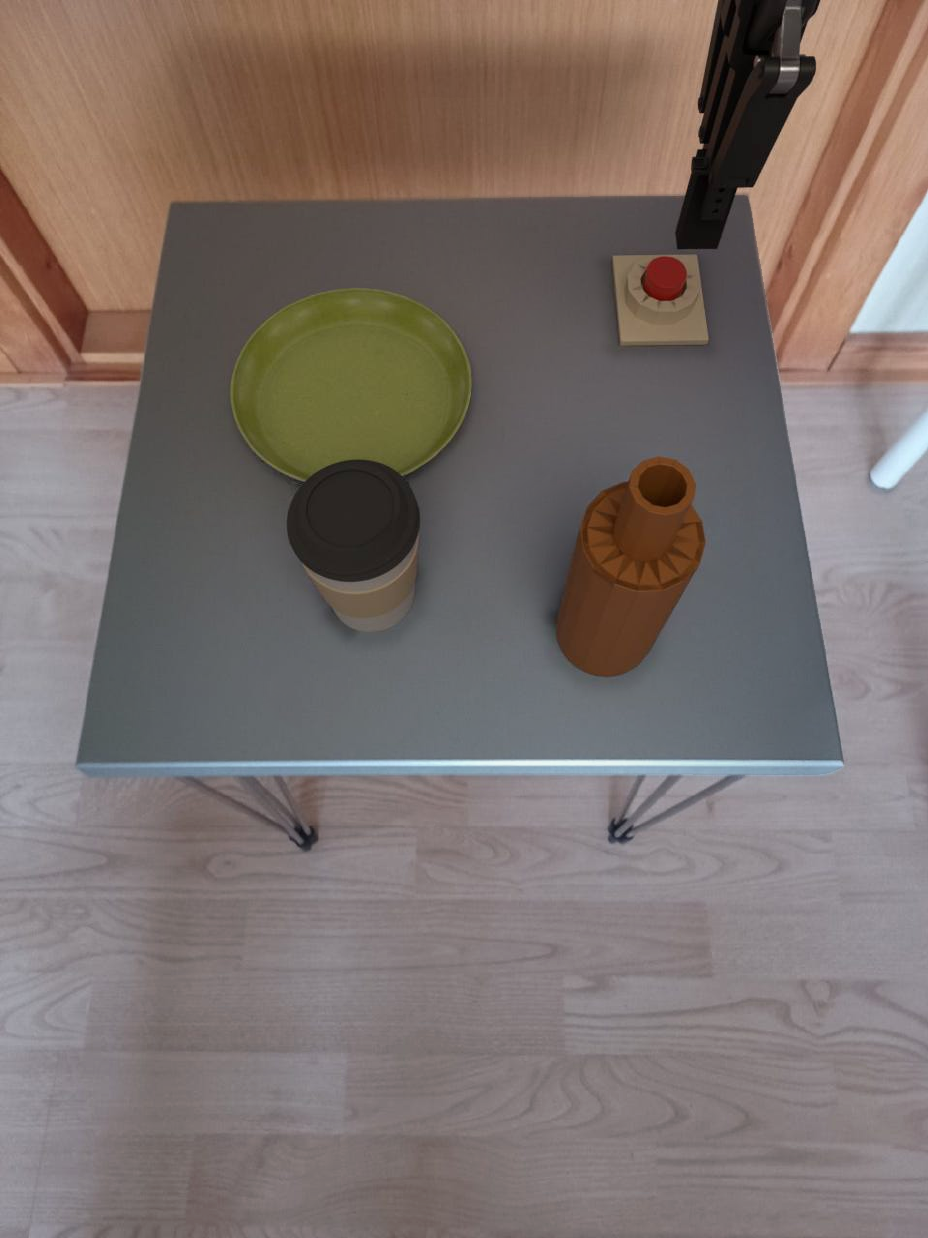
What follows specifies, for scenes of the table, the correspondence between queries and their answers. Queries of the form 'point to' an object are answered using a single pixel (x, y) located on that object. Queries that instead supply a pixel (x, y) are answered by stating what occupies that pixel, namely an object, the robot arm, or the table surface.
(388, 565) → the coffee cup
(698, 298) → the cream button plate
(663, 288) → the power button
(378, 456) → the green plate
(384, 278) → the table surface
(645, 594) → the brown bottle
